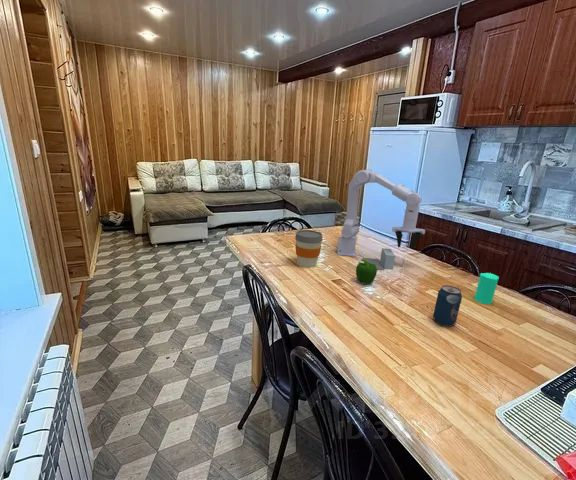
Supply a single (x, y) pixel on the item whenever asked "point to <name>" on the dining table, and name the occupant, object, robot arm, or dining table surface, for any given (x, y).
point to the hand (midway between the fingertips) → (405, 247)
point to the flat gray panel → (376, 262)
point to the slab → (387, 258)
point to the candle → (486, 288)
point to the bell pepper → (366, 272)
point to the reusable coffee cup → (308, 247)
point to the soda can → (447, 305)
